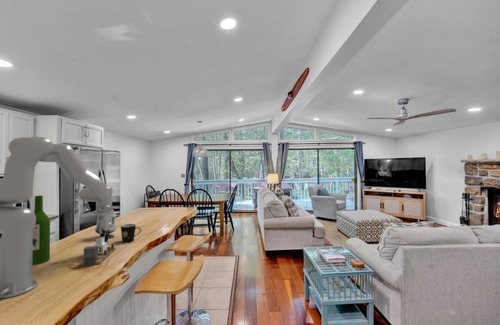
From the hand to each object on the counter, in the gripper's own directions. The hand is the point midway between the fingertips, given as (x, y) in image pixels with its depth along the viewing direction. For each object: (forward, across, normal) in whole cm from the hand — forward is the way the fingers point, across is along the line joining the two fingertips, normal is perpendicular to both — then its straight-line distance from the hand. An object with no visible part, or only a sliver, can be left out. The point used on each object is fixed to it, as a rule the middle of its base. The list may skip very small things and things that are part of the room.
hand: (103, 242), depth 134 cm
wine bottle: (+6, -8, +27) cm, 29 cm away
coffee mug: (+6, +18, -8) cm, 21 cm away
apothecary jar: (+6, +30, +10) cm, 32 cm away
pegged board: (+6, -6, 0) cm, 8 cm away
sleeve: (+4, -5, 0) cm, 6 cm away
